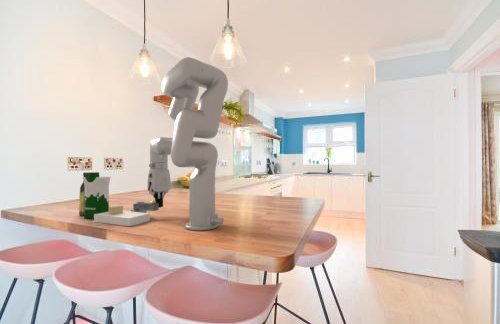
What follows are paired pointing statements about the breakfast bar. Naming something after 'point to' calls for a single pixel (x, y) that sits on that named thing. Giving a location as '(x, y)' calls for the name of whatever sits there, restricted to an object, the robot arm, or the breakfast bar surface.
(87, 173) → the sauce bottle
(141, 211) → the jamb post
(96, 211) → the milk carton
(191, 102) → the robot arm
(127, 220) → the grey base with block
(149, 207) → the latch arm
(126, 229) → the breakfast bar surface
